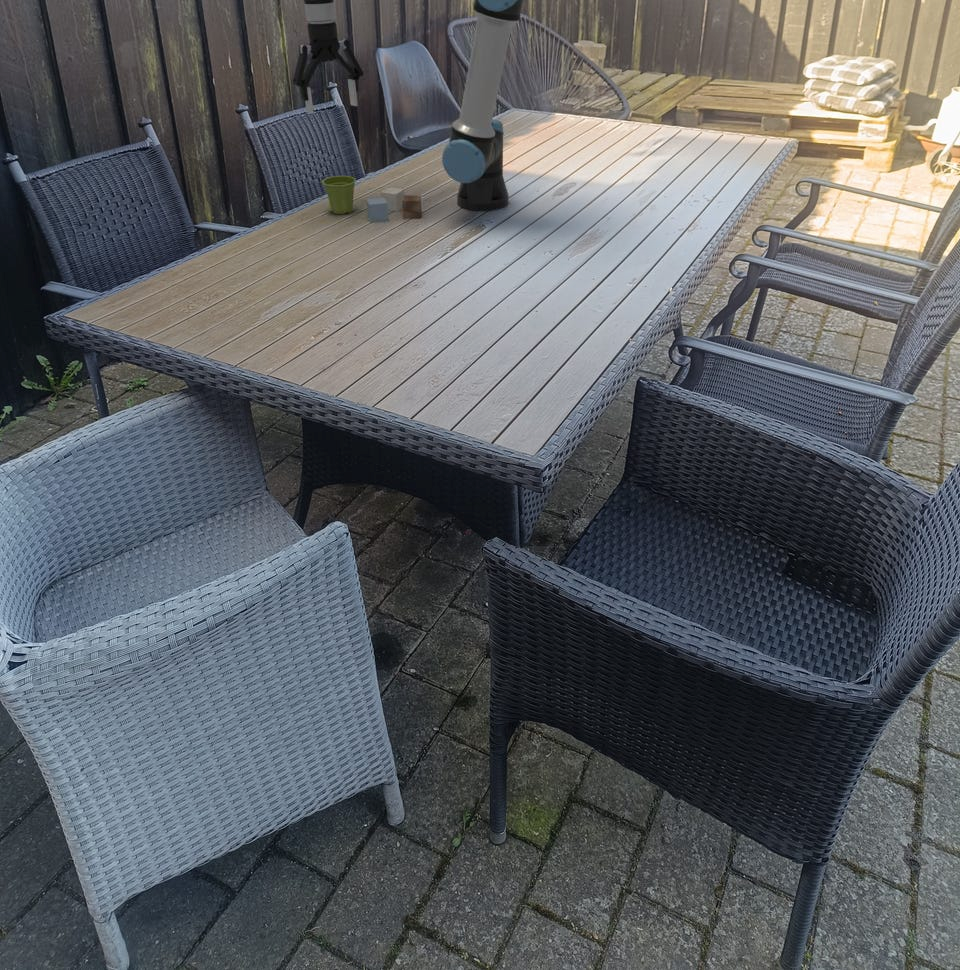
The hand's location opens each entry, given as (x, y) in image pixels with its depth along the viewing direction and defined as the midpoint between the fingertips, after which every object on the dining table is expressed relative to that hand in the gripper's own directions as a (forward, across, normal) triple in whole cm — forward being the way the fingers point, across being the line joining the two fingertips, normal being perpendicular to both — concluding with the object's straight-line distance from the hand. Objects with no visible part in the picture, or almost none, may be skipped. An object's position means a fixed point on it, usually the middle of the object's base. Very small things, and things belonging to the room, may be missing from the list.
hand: (332, 109), depth 231 cm
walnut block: (+27, -11, +19) cm, 35 cm away
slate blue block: (+27, -2, +16) cm, 31 cm away
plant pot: (+27, +3, +3) cm, 27 cm away
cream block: (+27, -10, +10) cm, 31 cm away
